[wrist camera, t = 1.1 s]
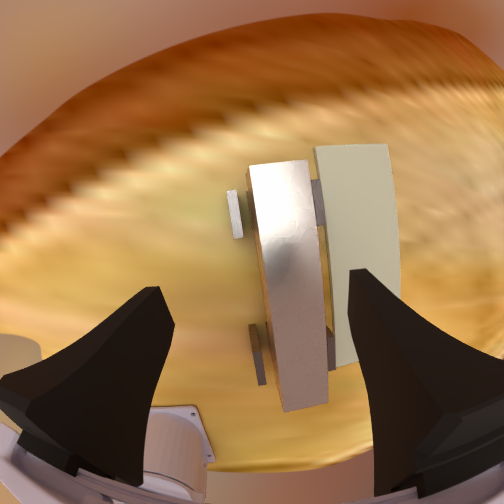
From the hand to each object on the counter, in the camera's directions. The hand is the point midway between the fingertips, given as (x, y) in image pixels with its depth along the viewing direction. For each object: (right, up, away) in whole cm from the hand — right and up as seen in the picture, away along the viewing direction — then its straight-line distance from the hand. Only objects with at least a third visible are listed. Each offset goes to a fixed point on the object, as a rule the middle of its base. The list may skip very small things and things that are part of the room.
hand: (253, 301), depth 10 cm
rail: (+2, -1, +10) cm, 10 cm away
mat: (+10, +1, +13) cm, 17 cm away
